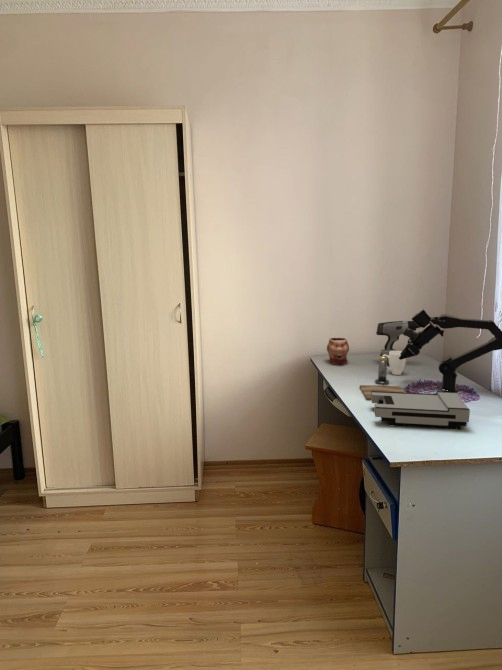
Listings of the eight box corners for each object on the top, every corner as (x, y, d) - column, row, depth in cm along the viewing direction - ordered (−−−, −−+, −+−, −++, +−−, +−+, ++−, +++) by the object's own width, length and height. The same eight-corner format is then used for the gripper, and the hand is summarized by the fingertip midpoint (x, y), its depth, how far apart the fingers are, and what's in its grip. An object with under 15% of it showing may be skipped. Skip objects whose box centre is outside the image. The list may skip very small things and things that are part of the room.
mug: (403, 372, 241) (405, 350, 239) (406, 376, 233) (407, 354, 231) (379, 371, 243) (381, 350, 241) (381, 375, 235) (382, 353, 233)
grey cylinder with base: (390, 385, 219) (391, 358, 216) (376, 384, 219) (377, 358, 217) (387, 381, 225) (388, 355, 223) (373, 381, 225) (375, 355, 223)
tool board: (409, 400, 196) (409, 398, 196) (366, 400, 197) (366, 397, 197) (398, 388, 214) (399, 385, 214) (359, 387, 215) (359, 385, 215)
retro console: (370, 407, 190) (371, 388, 188) (453, 411, 184) (454, 392, 183) (375, 426, 169) (376, 405, 168) (467, 432, 164) (469, 409, 163)
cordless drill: (421, 367, 250) (424, 321, 245) (375, 365, 255) (377, 320, 250) (419, 363, 258) (422, 319, 253) (374, 362, 262) (376, 318, 258)
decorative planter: (323, 358, 272) (324, 335, 269) (344, 358, 272) (344, 334, 270) (330, 367, 252) (331, 342, 250) (352, 366, 253) (353, 341, 250)
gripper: (415, 319, 220) (390, 340, 226) (413, 325, 203) (386, 347, 209) (431, 336, 219) (406, 357, 225) (431, 344, 202) (403, 366, 208)
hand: (400, 356), depth 217 cm, fingers open, 9 cm apart
